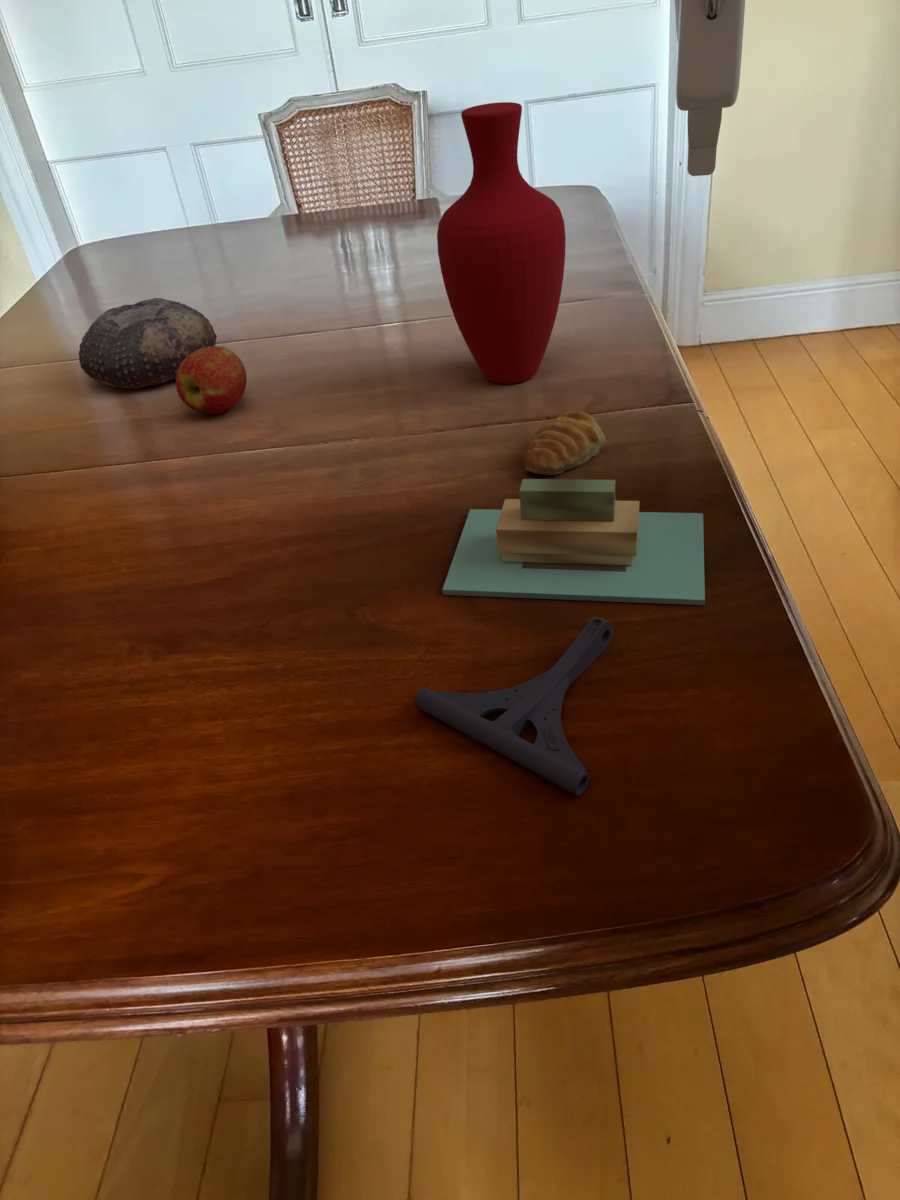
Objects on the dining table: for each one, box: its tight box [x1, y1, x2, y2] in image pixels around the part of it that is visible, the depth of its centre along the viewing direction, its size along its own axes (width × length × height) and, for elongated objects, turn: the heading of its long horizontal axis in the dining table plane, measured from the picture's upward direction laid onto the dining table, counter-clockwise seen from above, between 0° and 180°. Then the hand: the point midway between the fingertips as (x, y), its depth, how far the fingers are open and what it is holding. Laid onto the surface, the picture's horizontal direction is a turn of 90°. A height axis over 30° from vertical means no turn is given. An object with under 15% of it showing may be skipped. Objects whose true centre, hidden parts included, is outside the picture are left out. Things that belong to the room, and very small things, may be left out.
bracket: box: [413, 616, 615, 797], centre depth 66 cm, size 14×15×3 cm
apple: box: [175, 346, 248, 415], centre depth 112 cm, size 8×8×8 cm
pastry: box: [523, 410, 607, 476], centre depth 93 cm, size 9×7×4 cm
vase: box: [436, 101, 567, 385], centre depth 104 cm, size 15×15×30 cm
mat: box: [441, 508, 706, 606], centre depth 80 cm, size 22×13×1 cm, turn 78°
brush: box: [496, 478, 641, 565], centre depth 78 cm, size 12×5×7 cm, turn 78°
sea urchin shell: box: [78, 297, 218, 390], centre depth 125 cm, size 19×19×10 cm
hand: (700, 156), depth 64 cm, fingers open, 8 cm apart
